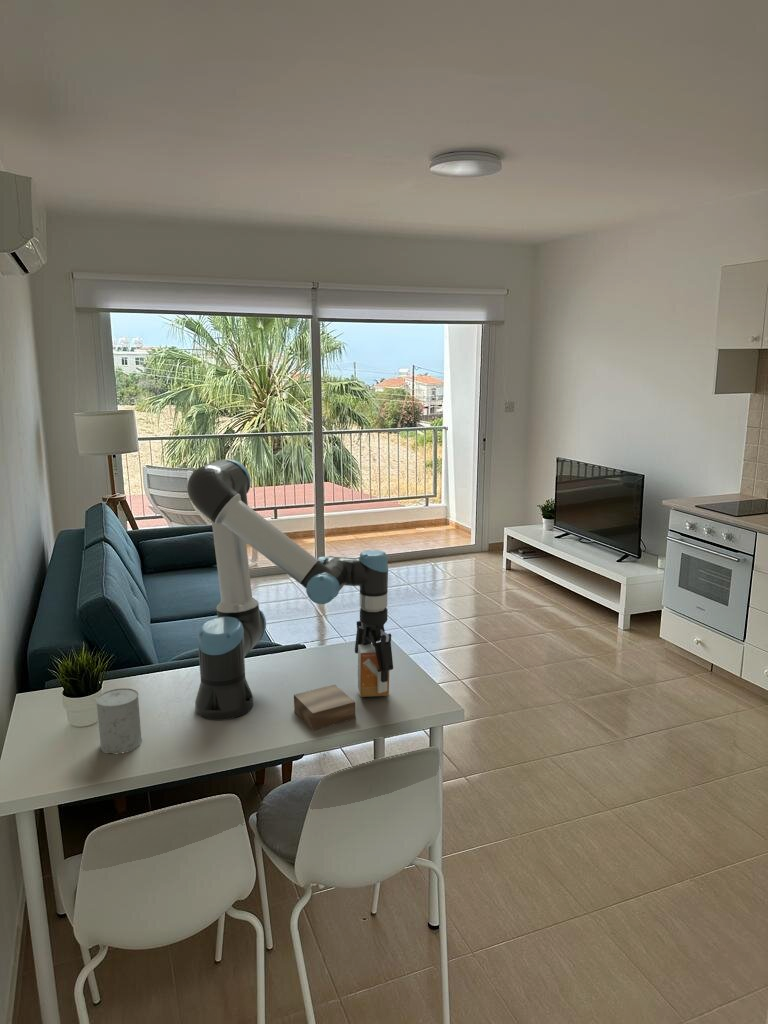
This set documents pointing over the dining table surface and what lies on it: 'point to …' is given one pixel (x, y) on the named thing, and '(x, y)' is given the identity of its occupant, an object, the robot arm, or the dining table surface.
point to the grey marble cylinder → (119, 720)
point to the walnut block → (324, 707)
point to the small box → (368, 672)
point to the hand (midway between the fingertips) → (373, 685)
